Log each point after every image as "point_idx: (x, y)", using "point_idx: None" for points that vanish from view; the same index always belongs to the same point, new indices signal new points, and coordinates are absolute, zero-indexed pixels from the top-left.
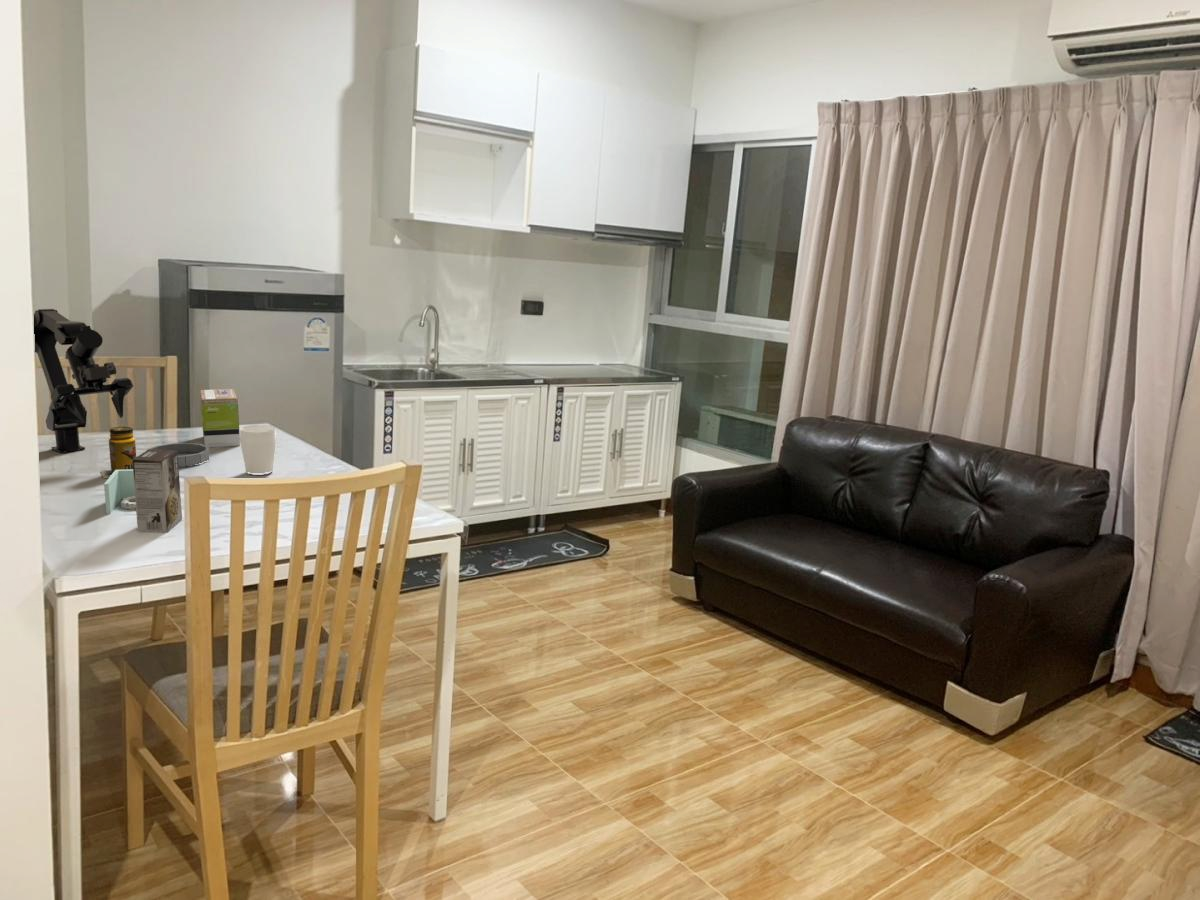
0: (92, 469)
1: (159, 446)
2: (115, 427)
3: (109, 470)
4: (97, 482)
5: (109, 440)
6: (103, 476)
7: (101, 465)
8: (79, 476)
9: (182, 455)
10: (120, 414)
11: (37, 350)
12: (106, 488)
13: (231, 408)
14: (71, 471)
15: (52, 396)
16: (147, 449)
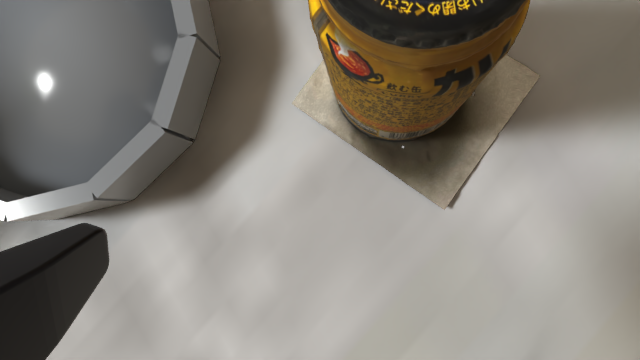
0: (431, 289)
1: (3, 200)
2: (431, 5)
3: (409, 179)
4: (611, 42)
5: (520, 26)
6: (513, 108)
7: (342, 318)
8: (578, 226)
9: (3, 83)
10: (84, 255)
11: None
12: None
13: None
14: (526, 354)
15: None
16: (98, 191)
